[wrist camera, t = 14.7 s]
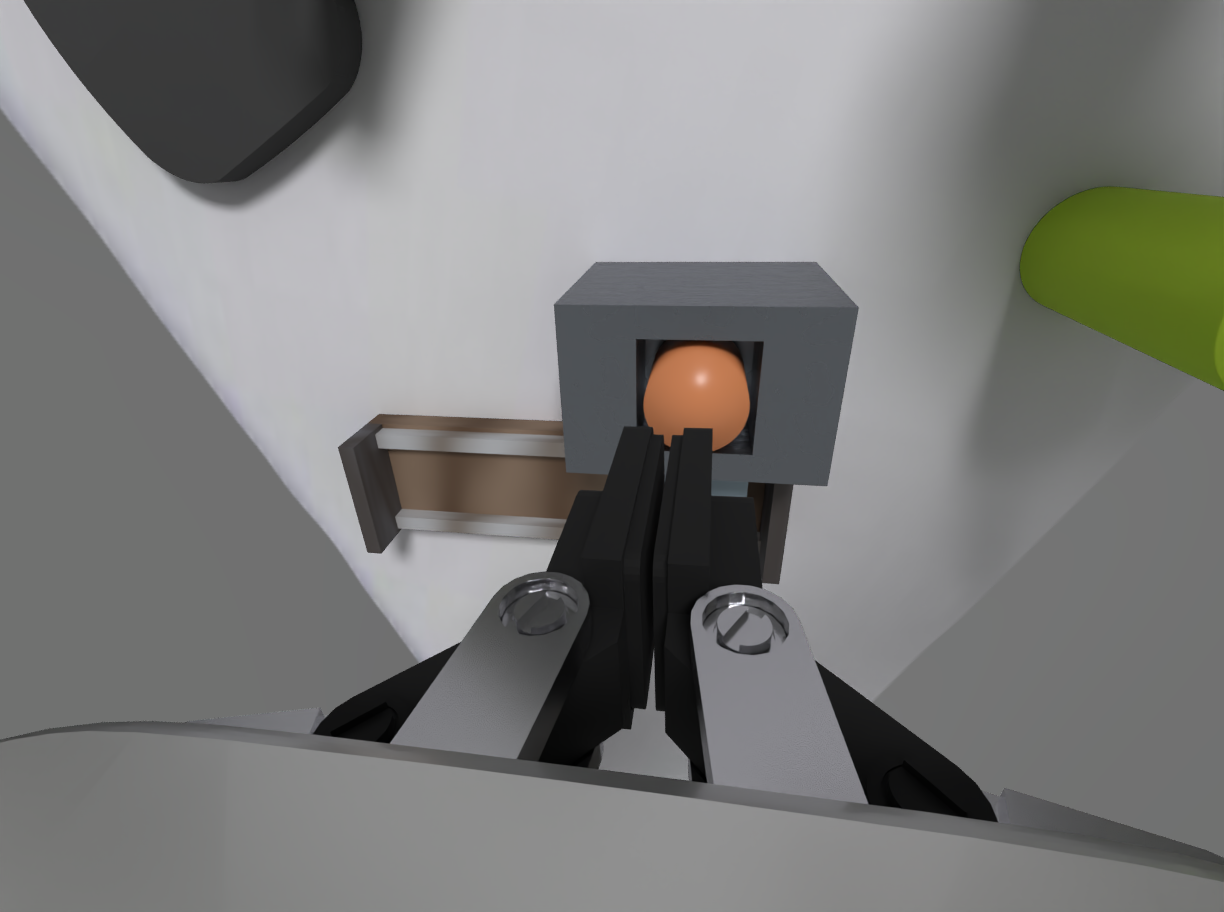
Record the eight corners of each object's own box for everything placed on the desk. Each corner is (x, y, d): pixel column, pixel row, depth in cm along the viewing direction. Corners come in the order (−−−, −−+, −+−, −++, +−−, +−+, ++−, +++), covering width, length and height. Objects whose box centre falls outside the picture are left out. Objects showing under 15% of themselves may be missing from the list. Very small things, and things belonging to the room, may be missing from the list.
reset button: (747, 328, 26) (754, 357, 23) (740, 416, 28) (745, 455, 25) (652, 326, 27) (643, 354, 23) (651, 412, 29) (643, 451, 25)
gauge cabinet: (816, 262, 31) (858, 307, 22) (796, 408, 35) (825, 495, 26) (595, 262, 32) (553, 304, 24) (600, 401, 36) (566, 481, 28)
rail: (784, 430, 35) (795, 469, 31) (771, 535, 39) (778, 584, 35) (379, 414, 39) (338, 447, 35) (402, 511, 43) (367, 552, 39)
